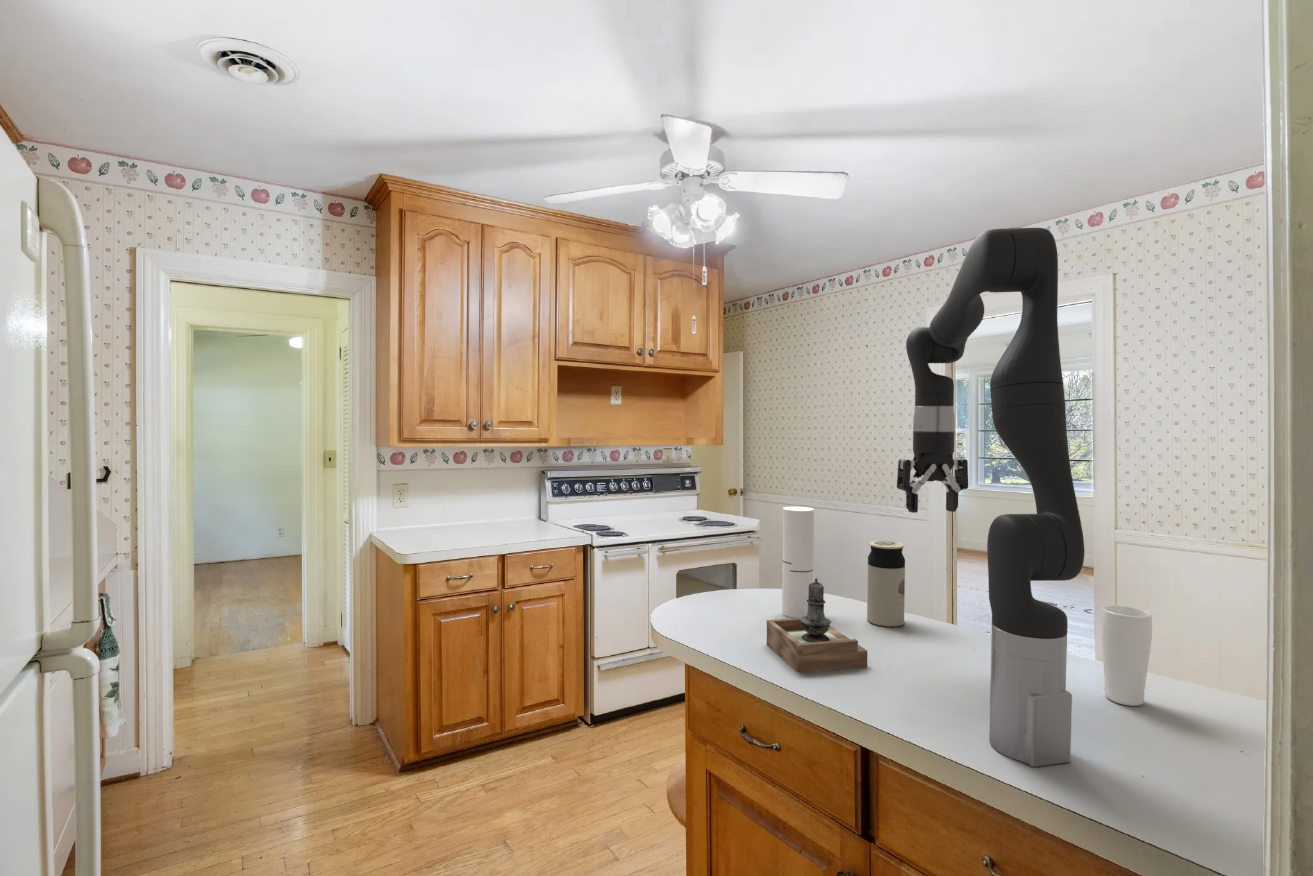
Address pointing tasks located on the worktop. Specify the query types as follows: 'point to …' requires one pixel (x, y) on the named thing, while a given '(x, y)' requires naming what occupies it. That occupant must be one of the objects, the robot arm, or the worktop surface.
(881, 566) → the travel mug
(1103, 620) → the drinking glass
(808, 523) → the cylindrical container
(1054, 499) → the robot arm
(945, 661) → the worktop surface
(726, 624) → the worktop surface
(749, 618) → the worktop surface
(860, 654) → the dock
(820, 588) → the salt shaker
